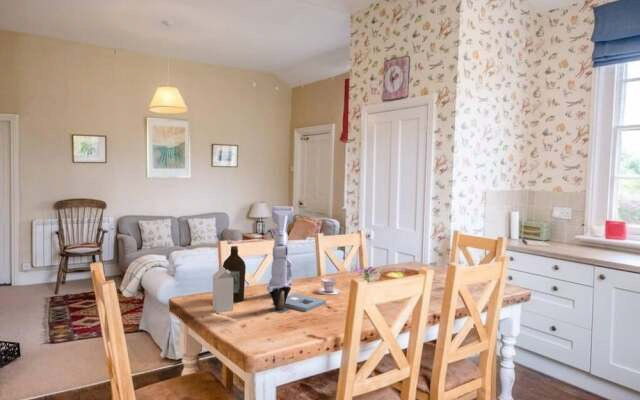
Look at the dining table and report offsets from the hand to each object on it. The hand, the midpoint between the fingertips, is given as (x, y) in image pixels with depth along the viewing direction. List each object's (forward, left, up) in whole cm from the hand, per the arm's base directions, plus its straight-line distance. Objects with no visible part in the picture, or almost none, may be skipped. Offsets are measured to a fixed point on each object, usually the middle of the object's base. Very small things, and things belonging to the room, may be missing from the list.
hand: (279, 304), depth 189 cm
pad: (0, 0, -3) cm, 3 cm away
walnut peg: (0, 0, -2) cm, 2 cm away
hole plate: (+2, +12, -3) cm, 13 cm away
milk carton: (-19, -15, -3) cm, 24 cm away
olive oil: (-28, 0, -3) cm, 28 cm away
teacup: (-1, +40, -3) cm, 40 cm away
